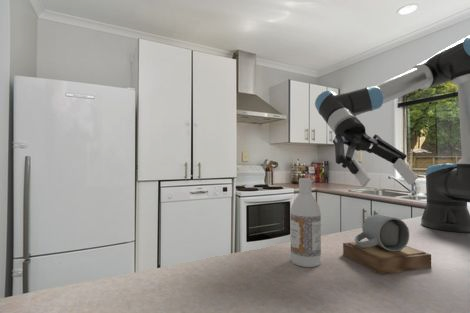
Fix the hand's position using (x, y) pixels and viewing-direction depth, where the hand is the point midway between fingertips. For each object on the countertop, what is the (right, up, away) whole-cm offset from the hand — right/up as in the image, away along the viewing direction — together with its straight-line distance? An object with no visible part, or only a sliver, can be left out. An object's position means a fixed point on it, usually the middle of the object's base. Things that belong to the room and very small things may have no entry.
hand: (390, 182), depth 60 cm
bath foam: (-20, -20, +1) cm, 28 cm away
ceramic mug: (-2, -16, +2) cm, 16 cm away
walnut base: (-1, -19, +2) cm, 19 cm away
